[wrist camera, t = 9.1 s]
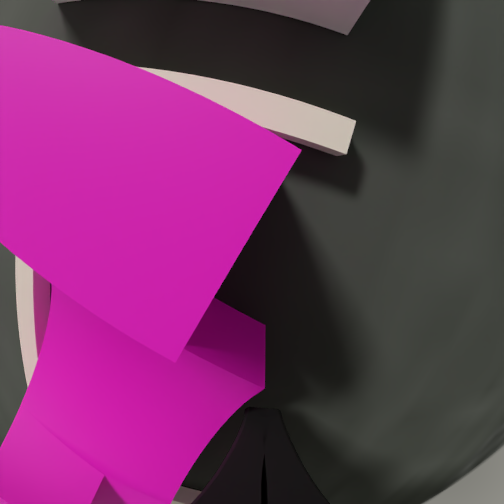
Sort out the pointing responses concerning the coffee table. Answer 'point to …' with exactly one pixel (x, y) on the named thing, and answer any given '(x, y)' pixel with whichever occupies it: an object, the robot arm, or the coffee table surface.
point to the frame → (239, 101)
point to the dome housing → (306, 10)
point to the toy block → (126, 269)
